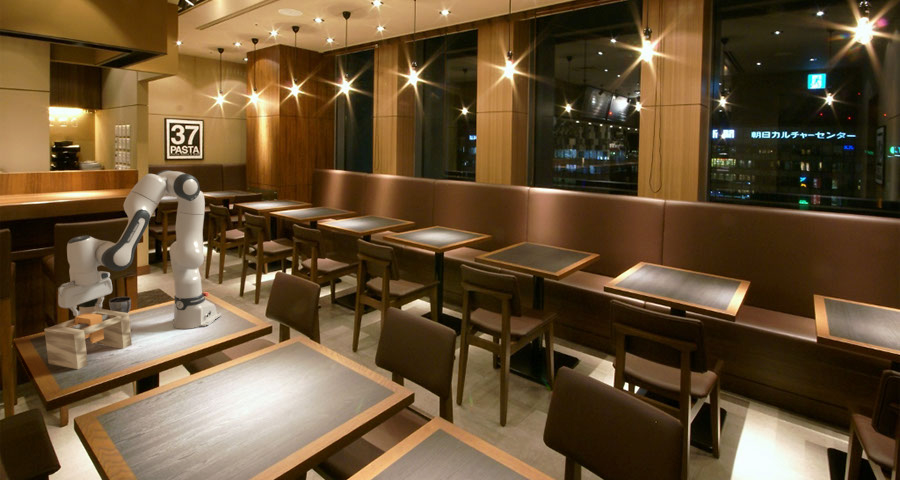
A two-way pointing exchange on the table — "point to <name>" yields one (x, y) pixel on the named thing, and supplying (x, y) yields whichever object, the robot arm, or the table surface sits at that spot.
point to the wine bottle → (88, 306)
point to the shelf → (70, 342)
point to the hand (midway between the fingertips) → (88, 311)
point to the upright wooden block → (91, 320)
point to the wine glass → (120, 304)
